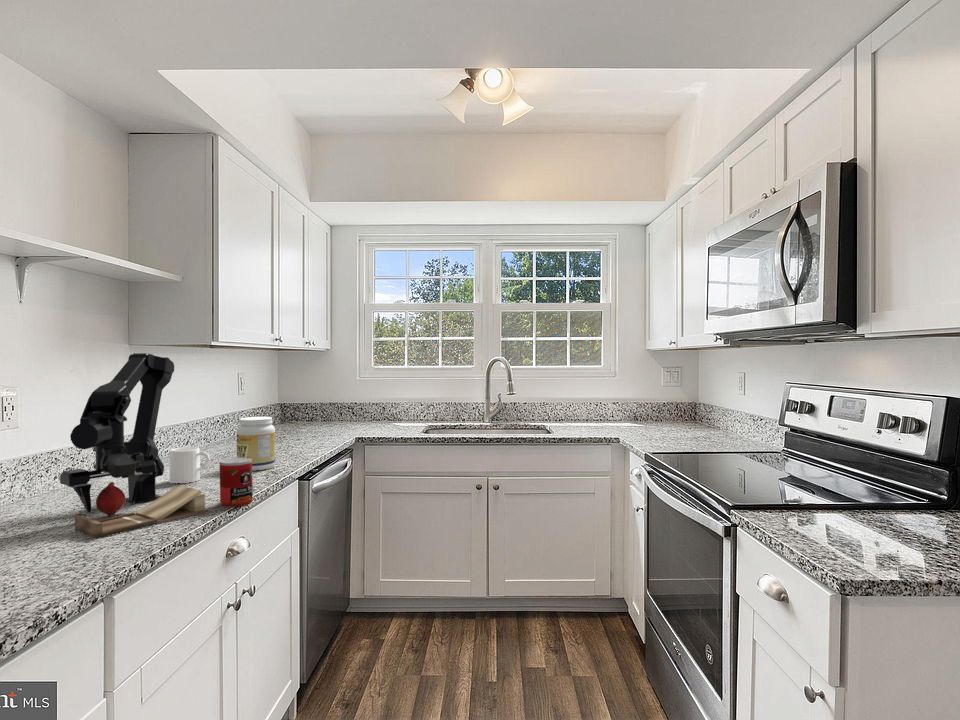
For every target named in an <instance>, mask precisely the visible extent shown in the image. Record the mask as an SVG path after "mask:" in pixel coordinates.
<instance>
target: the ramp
mask: <svg viewBox="0 0 960 720" xmlns="http://www.w3.org/2000/svg"><path fill="white" fill-rule="evenodd" d="M160 496H161V497H159V498H157V499H153V500H152V501H151V502H150V503H148V504H146V505H145V506H144V507H142V508H140V509H139V510H137V511H135V514H138V515H142V516H145V517H148V518H152V519H157V520H162V519H164V518H165V517H166V516H168V515H169V514H171V513H172V512H174V511H175V510H177V509H178V508H183V509H187V510H190V511H194V512H196V511H200V510H204V513H205V512H206V502H205V501H206V495H205V493H202V491H201V489H197V488H193V487H189V486H183V485H181V484H177V485H176V486H174V487H173V488H172V489H169V490H168V491H167V492H165V493H164V494H162V495H160Z"/></svg>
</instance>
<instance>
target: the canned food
mask: <svg viewBox="0 0 960 720" xmlns="http://www.w3.org/2000/svg"><path fill="white" fill-rule="evenodd" d="M253 488H254V487H253V471H252V459H250V458H237V457H231V458H226V459H222V460H220V461H219V495H220V496H219V497H220V498H219V501H220V505H221V506H223V507H226V506H227V507H229V508H230V507H231V508H235V507H243V506H245V505H249V504H251V503H252V502H253V498H254V495H253V493H254V491H253ZM227 507H226V508H227Z"/></svg>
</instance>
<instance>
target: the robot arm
mask: <svg viewBox="0 0 960 720" xmlns="http://www.w3.org/2000/svg"><path fill="white" fill-rule="evenodd" d="M174 371H175V364H174V361H172V360H171V359H170V358H169V357H162V356H158V355H157V356H156V355H154V354H153V353H149V352H145V353H143V352H139V353H132V354H130V355H129V356H128V360H127V362H125V364H124V365H123V366H122V368H120V370H119V371H118V373H116V375H115V376H114V377H113V379H112V380H110V381H109V382H107V383H105V384H102V385H100V386H98V387H97V388H96V389H94V390H93V391H92V392H91V394H90V395H89V398H88V399H87V402H86V404H85V407H84V409H83V411H82V414H81V417H80V419H79V424H77V425H76V426H74V427H73V429H72V430H71V433H70V437H69V438H70V441H71V443H72V444H73V446H74V447H76V449H77V448H78V449H80V450H87V449H91V448H93V449H92V450H93V452H94V453H95V464H93V470H87V469H83V468H77V469H69V470H63V471H62V472H61V473H60V476H59V483H60V484H59V485H64V486H67V487H69V488H72V489H73V490H74V491H75V493H76V494H77V495H78V497H79V499H80V501H81V503H82V504H83V507H84V508H85V511H86V512H87V513H88V514H90V513H92V499H91V489H92V484H90V483H89V482H90V480H92V479H98V478H104V477H112V478H115V479H118V478H121V479H127V482H128V483H127V485H128V486H127V488H128V491H127V492H128V497H125V501H127V500H128V501H127V502H129V504H131V505H134V504H139V503H143V502H148V501H154V500H156V499H157V498H159V497H161V496H162V495H158V494H157V493H156V492H157V491H156V490H157V485H156V478H157V477H162V476H163V475H164V472H165V465H164V463H163V462H162V459H161V458H160V456H159V449H158V447H157V445H156V443H155V441H154V438H155V433H156V432H155V431H156V426H157V421H158V416H159V410H160V403H161V399H162V393H163V390H164V388H165V387H167V385H168V384H169V383H170V382H171V380H172V376H173V374H174ZM139 382H140V384H141V386H142V387H141V391H140V398H139V403H138V407H137V408H138V409H137V413H136V419H135V423H134V429H133V433H132V437H131V439H129V441H125V432H124V431H125V428H124V427H125V422H127V421H128V418H127V416H125V412H126V411H127V410H128V409H129V407H130V404H131V402H132V398H131V392H133V390H134V389H135V387H136V386H137V384H139ZM134 502H135V503H134Z"/></svg>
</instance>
